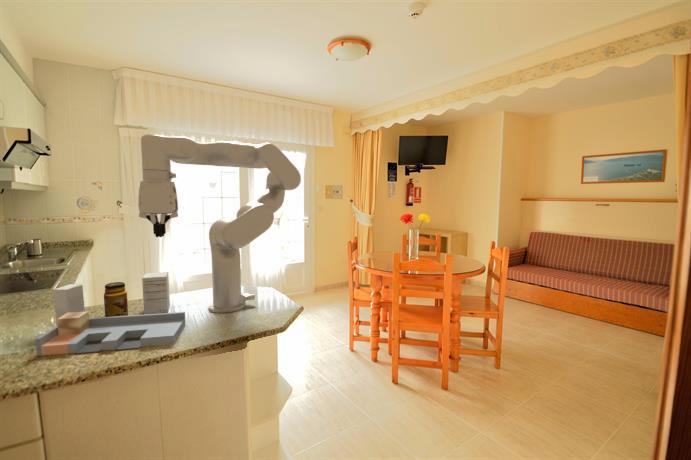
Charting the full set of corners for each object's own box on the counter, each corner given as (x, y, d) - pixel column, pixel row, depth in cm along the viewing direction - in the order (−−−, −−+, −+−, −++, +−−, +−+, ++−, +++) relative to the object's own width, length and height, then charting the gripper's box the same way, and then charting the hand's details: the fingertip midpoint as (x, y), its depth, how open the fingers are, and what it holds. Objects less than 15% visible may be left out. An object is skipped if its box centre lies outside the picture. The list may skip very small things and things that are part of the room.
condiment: (129, 321, 104) (127, 284, 103) (96, 327, 99) (93, 288, 98) (129, 314, 110) (127, 279, 109) (98, 319, 105) (95, 283, 104)
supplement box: (146, 308, 117) (145, 273, 115) (170, 305, 120) (168, 271, 118) (143, 315, 110) (141, 277, 109) (168, 312, 113) (166, 276, 111)
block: (89, 326, 94) (88, 311, 93) (80, 333, 89) (78, 317, 89) (69, 328, 93) (67, 312, 92) (58, 335, 88) (57, 319, 87)
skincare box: (72, 320, 104) (70, 283, 103) (86, 321, 104) (83, 284, 103) (55, 328, 98) (52, 289, 97) (69, 328, 98) (66, 289, 97)
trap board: (185, 325, 101) (184, 311, 101) (173, 345, 88) (172, 329, 87) (67, 334, 94) (66, 319, 94) (34, 357, 80) (32, 340, 80)
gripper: (186, 178, 106) (188, 234, 108) (134, 176, 102) (137, 235, 104) (180, 176, 99) (183, 237, 100) (124, 175, 95) (127, 238, 97)
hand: (159, 236), depth 102 cm, fingers closed
